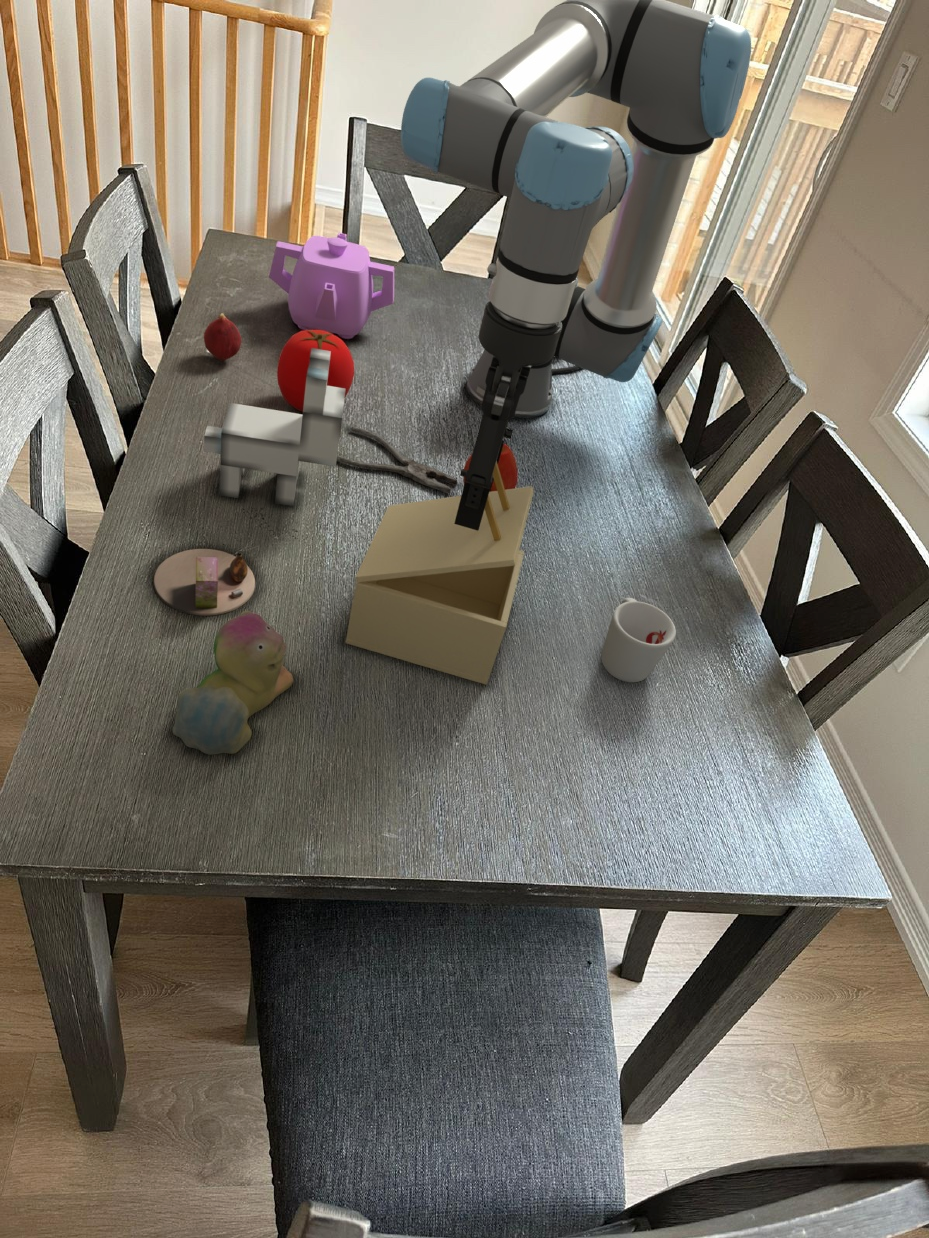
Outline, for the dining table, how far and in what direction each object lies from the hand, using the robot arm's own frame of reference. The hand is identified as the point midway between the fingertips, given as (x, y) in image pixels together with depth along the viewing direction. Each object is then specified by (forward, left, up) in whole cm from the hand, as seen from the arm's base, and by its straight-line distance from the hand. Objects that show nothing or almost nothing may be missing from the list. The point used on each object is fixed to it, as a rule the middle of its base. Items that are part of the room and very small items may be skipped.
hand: (473, 505), depth 99 cm
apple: (-20, -21, -20) cm, 35 cm away
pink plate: (+24, -17, -19) cm, 35 cm away
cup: (-20, +13, -20) cm, 31 cm away
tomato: (-6, -51, -20) cm, 55 cm away
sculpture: (+28, +3, -20) cm, 34 cm away
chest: (+1, -1, -19) cm, 19 cm away
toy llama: (+9, -33, -20) cm, 39 cm away
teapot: (-21, -77, -19) cm, 82 cm away
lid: (+1, -1, -5) cm, 5 cm away
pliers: (-12, -34, -19) cm, 41 cm away
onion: (+3, -67, -20) cm, 70 cm away
